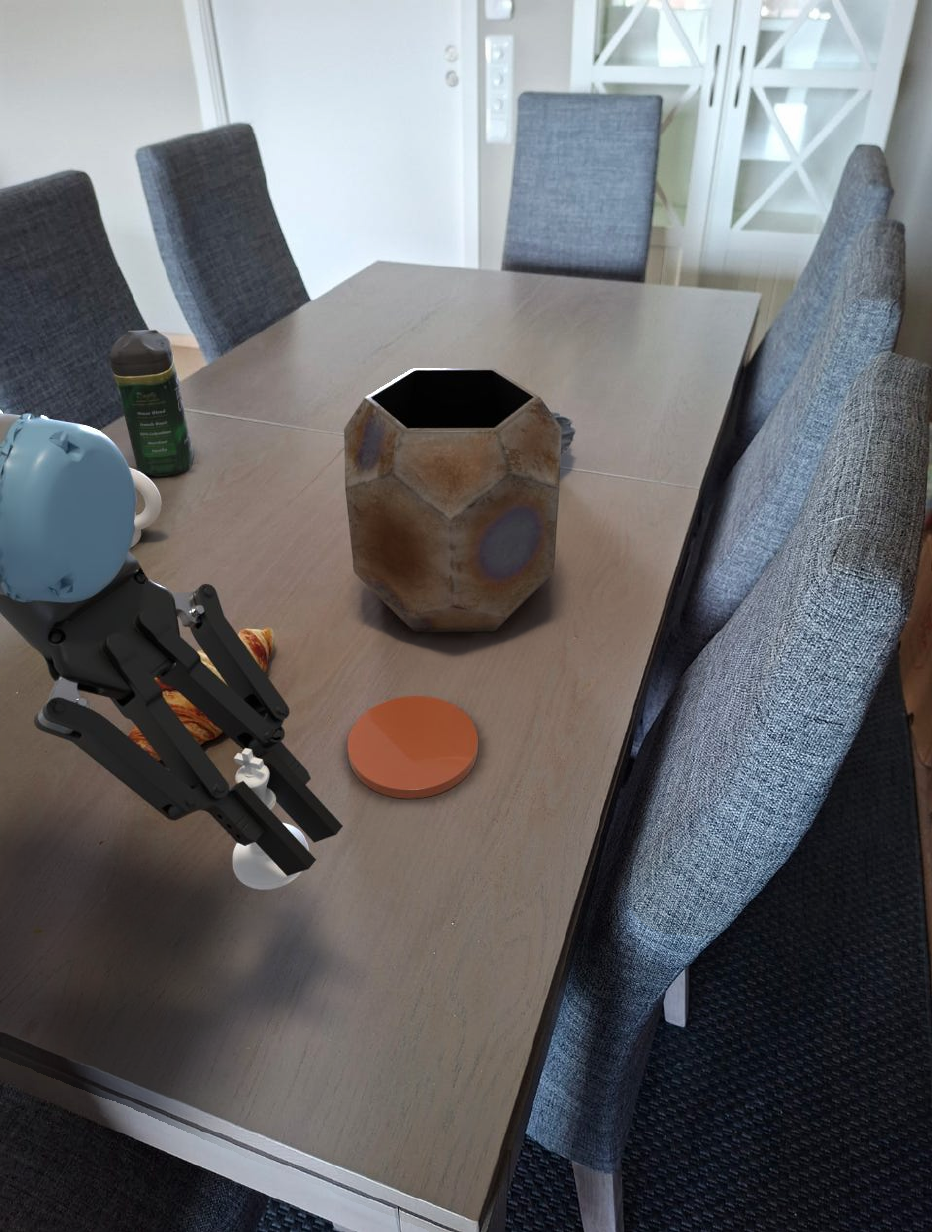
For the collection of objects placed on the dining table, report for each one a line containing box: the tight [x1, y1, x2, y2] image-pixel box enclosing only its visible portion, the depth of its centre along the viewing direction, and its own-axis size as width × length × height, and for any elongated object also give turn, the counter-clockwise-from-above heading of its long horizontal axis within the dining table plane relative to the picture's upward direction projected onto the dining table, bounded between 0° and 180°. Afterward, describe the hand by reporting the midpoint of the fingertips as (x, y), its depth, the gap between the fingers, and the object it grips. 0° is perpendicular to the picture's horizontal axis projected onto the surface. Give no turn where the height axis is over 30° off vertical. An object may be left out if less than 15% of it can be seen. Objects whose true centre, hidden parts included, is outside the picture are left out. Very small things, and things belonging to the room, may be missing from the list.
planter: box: [343, 367, 562, 633], centre depth 94 cm, size 22×24×24 cm
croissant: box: [127, 627, 276, 762], centre depth 84 cm, size 21×10×8 cm, turn 156°
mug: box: [129, 466, 162, 549], centre depth 107 cm, size 8×12×12 cm
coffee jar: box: [108, 329, 194, 477], centre depth 122 cm, size 10×8×19 cm
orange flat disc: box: [347, 695, 479, 800], centre depth 81 cm, size 12×12×1 cm
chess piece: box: [232, 748, 310, 891], centre depth 54 cm, size 5×5×10 cm
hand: (314, 850), depth 54 cm, fingers closed on chess piece, 2 cm apart
